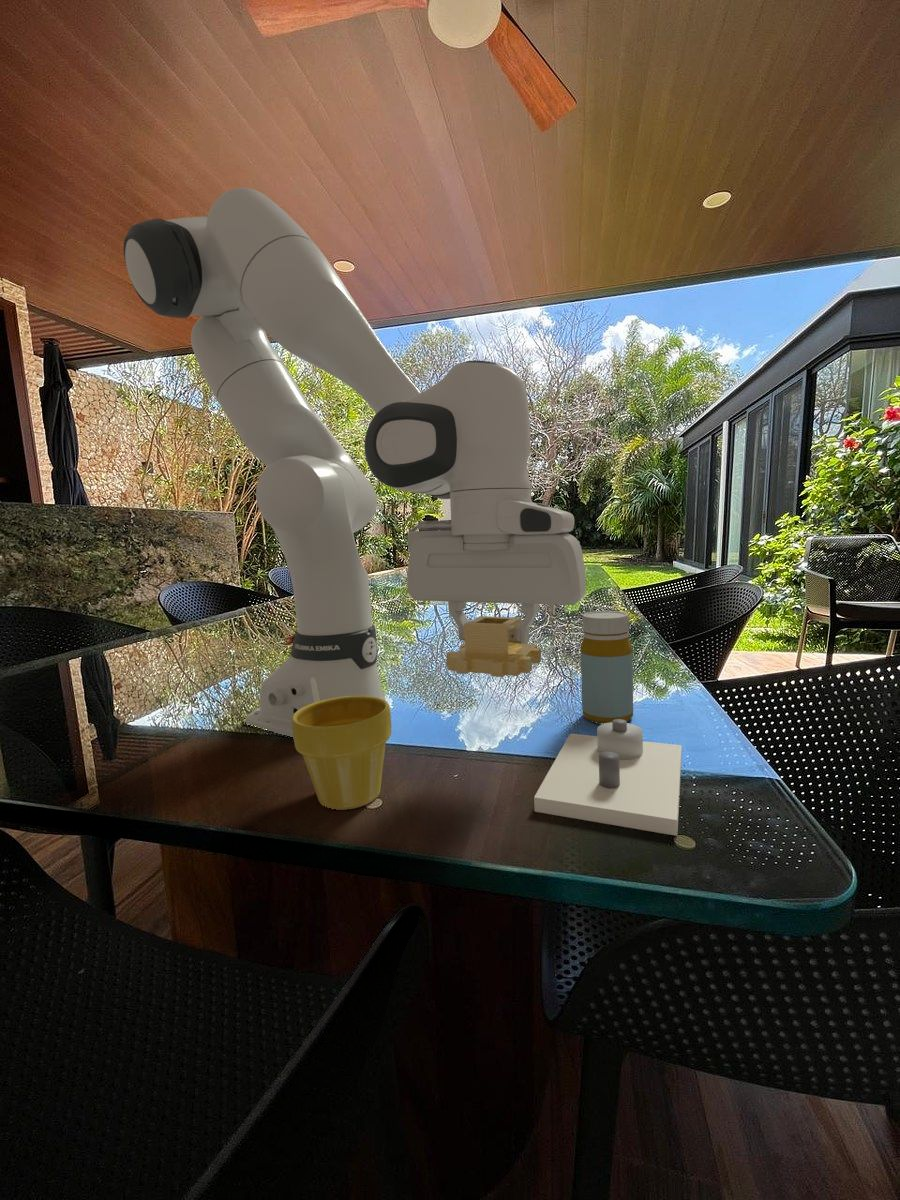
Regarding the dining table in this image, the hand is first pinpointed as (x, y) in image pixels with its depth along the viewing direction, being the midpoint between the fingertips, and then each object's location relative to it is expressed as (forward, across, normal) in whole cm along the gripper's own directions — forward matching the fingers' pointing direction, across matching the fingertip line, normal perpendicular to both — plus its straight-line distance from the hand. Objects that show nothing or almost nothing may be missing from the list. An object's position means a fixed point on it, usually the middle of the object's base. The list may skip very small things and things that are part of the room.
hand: (493, 641), depth 61 cm
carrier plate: (+15, +13, 0) cm, 20 cm away
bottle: (+15, +10, +20) cm, 27 cm away
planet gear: (+3, 0, 0) cm, 3 cm away
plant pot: (+16, -13, -11) cm, 23 cm away
